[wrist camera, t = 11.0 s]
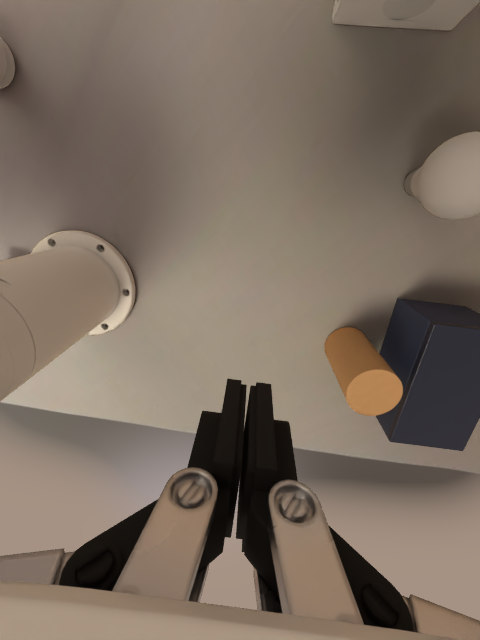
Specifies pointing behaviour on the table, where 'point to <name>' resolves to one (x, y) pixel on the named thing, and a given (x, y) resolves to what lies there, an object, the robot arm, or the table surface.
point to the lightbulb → (449, 179)
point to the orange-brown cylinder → (362, 372)
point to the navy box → (433, 374)
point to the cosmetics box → (403, 13)
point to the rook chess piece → (6, 65)
